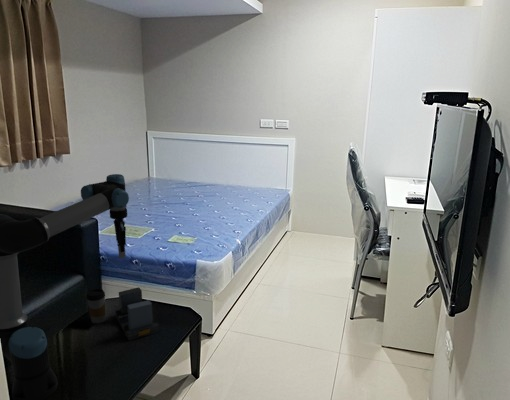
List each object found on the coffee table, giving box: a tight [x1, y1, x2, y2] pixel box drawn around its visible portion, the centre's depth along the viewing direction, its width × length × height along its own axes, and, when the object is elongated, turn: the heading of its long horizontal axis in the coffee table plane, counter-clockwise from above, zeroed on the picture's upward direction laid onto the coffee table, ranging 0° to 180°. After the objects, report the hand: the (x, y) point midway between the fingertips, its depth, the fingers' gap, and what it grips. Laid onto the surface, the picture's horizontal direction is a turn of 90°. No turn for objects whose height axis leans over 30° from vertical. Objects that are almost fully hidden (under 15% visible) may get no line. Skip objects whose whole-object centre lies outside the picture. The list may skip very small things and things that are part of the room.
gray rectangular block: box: [127, 299, 153, 331], centre depth 191 cm, size 10×4×12 cm, turn 121°
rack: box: [114, 286, 160, 342], centre depth 197 cm, size 14×25×14 cm, turn 31°
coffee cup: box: [86, 288, 106, 324], centre depth 199 cm, size 8×8×15 cm
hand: (122, 257), depth 193 cm, fingers closed
